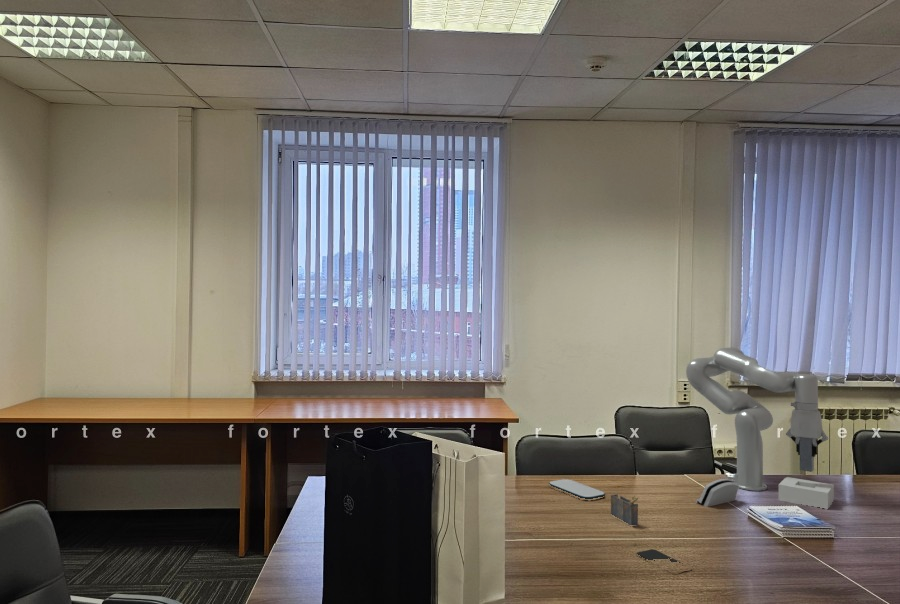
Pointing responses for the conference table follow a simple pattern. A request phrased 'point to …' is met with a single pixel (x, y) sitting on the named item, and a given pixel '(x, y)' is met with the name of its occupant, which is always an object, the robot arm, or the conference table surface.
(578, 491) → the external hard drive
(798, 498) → the well block
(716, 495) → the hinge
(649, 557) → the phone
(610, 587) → the conference table surface
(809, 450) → the bracket bar
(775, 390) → the robot arm
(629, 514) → the grey upright flat piece
